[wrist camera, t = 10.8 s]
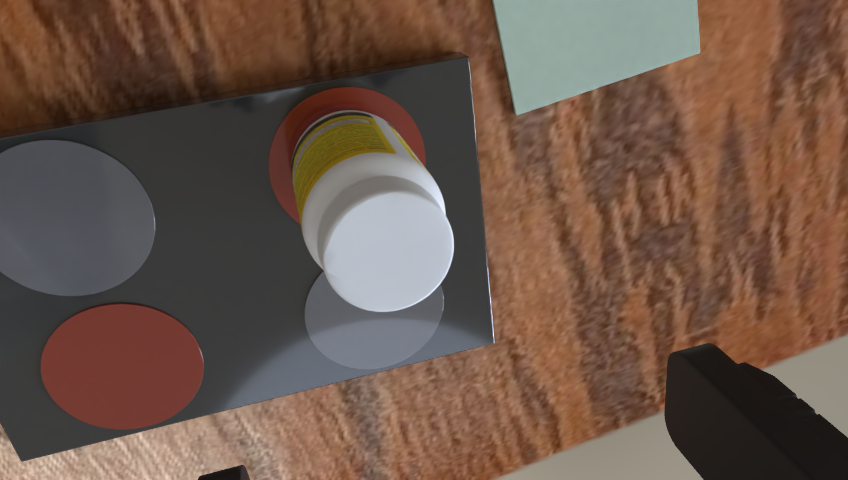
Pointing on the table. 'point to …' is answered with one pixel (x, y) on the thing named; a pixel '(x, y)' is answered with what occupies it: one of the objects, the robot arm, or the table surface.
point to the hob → (211, 257)
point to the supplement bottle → (370, 212)
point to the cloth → (588, 43)
